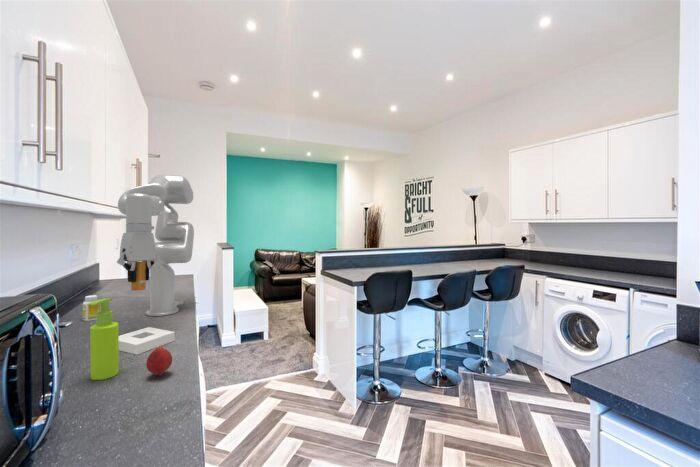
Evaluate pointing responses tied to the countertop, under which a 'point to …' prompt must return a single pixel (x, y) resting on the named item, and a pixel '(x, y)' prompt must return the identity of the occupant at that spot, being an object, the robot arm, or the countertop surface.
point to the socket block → (144, 340)
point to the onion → (159, 361)
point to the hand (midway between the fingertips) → (138, 280)
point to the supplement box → (139, 276)
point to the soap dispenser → (104, 343)
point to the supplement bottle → (90, 308)
